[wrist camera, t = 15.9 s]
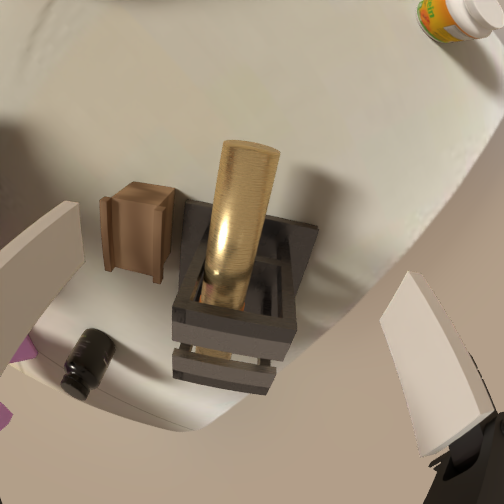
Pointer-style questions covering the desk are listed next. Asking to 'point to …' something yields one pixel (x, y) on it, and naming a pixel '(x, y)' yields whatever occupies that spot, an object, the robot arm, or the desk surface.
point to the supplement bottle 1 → (87, 363)
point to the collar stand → (235, 321)
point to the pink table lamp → (25, 351)
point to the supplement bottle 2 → (459, 19)
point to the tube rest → (137, 228)
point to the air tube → (236, 224)
